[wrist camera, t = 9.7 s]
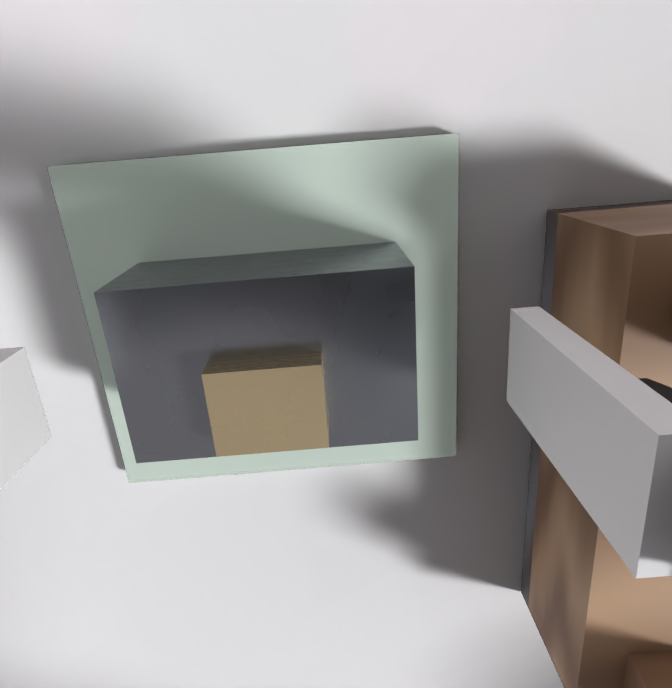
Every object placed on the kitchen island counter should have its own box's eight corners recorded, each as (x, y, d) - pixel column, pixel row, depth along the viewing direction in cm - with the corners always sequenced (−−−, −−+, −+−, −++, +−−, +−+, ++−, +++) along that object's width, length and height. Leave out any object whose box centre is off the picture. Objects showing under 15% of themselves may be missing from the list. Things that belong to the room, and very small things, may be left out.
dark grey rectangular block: (400, 386, 18) (423, 456, 14) (169, 405, 18) (126, 480, 14) (395, 241, 16) (420, 273, 12) (138, 262, 16) (79, 301, 12)
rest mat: (452, 447, 20) (455, 456, 19) (134, 473, 20) (129, 482, 19) (453, 133, 16) (458, 132, 15) (56, 165, 16) (46, 166, 15)
